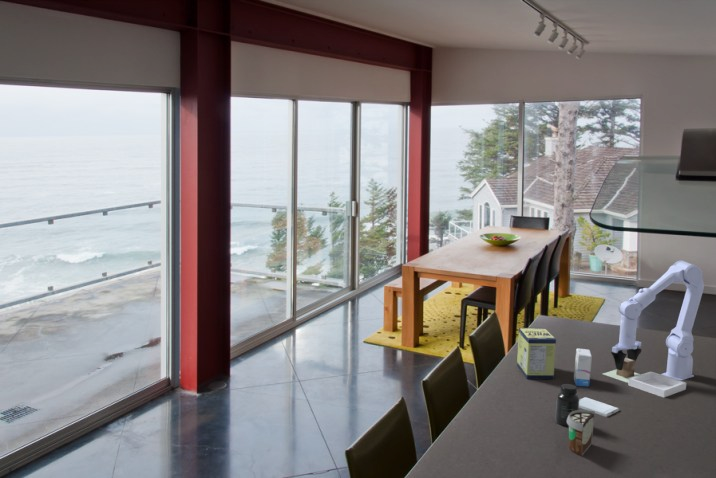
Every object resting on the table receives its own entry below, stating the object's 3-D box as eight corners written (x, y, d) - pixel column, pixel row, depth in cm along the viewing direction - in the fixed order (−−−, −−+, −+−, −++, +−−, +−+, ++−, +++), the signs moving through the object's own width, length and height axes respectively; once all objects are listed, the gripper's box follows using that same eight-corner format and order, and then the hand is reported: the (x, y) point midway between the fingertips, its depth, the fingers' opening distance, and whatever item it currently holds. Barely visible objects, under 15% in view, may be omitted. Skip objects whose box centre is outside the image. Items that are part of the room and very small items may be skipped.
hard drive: (572, 402, 240) (606, 413, 231) (585, 396, 245) (619, 407, 236) (572, 407, 240) (606, 418, 231) (585, 401, 245) (618, 412, 236)
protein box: (542, 365, 280) (544, 327, 277) (554, 379, 264) (556, 339, 262) (516, 365, 279) (518, 327, 277) (526, 379, 264) (528, 339, 261)
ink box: (590, 387, 257) (592, 355, 255) (575, 386, 258) (577, 354, 256) (587, 379, 265) (589, 348, 263) (573, 377, 266) (575, 347, 264)
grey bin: (650, 379, 266) (650, 371, 266) (685, 390, 255) (686, 382, 255) (628, 386, 258) (628, 378, 258) (663, 398, 247) (664, 390, 247)
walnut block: (623, 372, 271) (625, 357, 270) (634, 376, 268) (635, 360, 267) (616, 374, 269) (617, 359, 268) (626, 378, 265) (627, 362, 264)
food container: (572, 437, 215) (574, 405, 214) (593, 442, 212) (595, 410, 210) (558, 451, 205) (561, 419, 204) (580, 457, 202) (582, 424, 200)
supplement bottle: (558, 416, 231) (560, 381, 229) (579, 421, 227) (582, 385, 225) (552, 423, 225) (555, 387, 223) (574, 428, 221) (577, 392, 219)
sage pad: (621, 369, 276) (621, 367, 276) (646, 377, 268) (646, 376, 268) (602, 375, 270) (602, 373, 269) (627, 384, 261) (627, 382, 261)
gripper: (624, 338, 259) (621, 374, 261) (649, 333, 266) (646, 367, 269) (608, 333, 264) (605, 368, 267) (633, 328, 272) (630, 362, 274)
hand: (624, 367), depth 268 cm, fingers open, 6 cm apart
